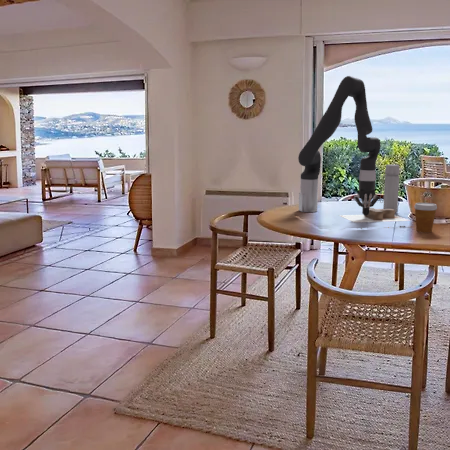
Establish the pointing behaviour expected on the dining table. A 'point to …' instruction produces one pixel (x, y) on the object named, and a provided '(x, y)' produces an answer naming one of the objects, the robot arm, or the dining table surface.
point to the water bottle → (391, 187)
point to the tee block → (380, 213)
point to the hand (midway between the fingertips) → (365, 215)
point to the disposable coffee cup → (425, 216)
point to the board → (365, 219)
